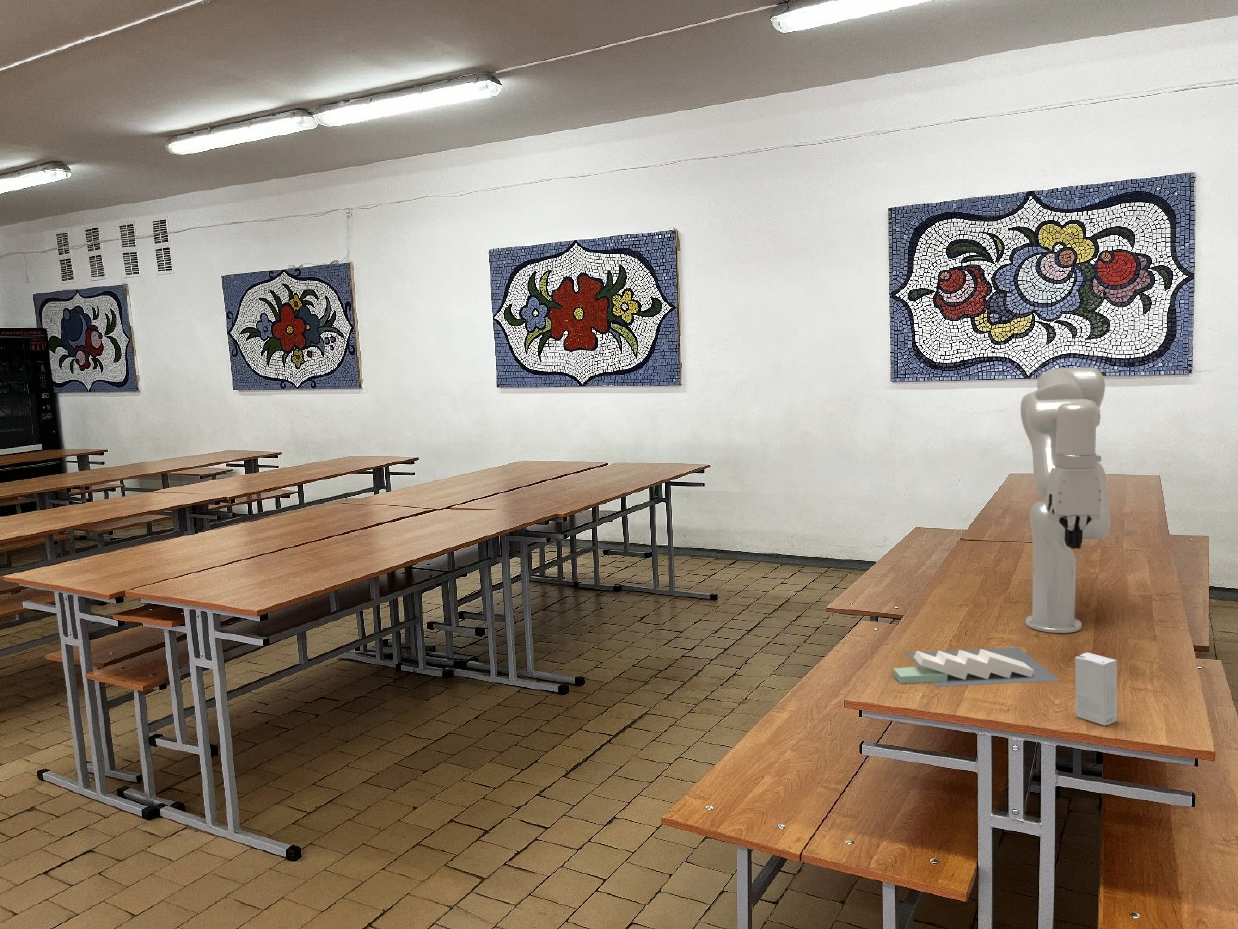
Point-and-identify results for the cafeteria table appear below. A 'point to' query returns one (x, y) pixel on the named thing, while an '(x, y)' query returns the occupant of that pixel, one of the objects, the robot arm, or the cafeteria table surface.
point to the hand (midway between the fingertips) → (1073, 547)
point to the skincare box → (1096, 688)
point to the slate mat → (1013, 653)
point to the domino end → (918, 675)
